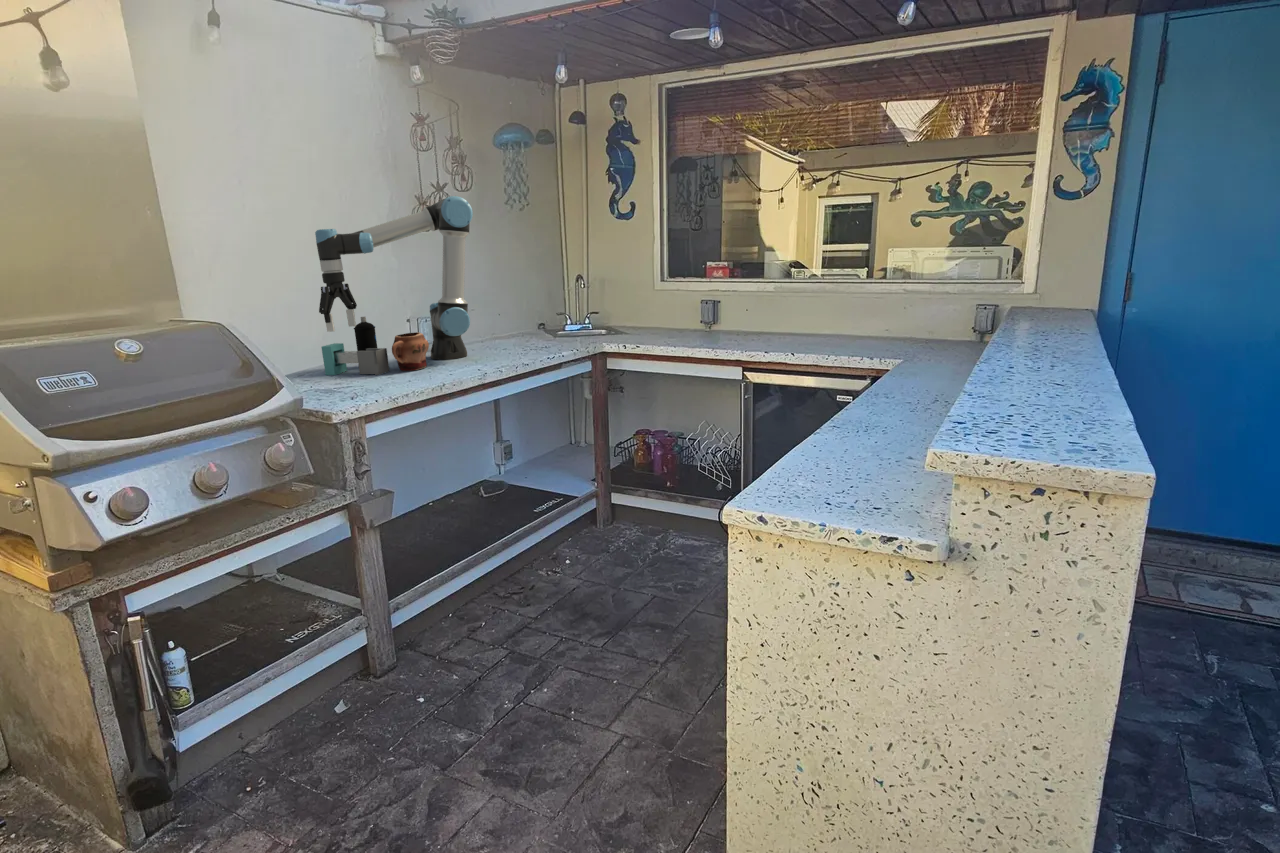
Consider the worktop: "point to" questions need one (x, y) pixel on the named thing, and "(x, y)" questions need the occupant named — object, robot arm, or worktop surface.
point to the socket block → (329, 359)
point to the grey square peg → (345, 356)
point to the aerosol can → (365, 335)
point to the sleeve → (373, 361)
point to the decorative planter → (410, 351)
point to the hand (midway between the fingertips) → (342, 328)
